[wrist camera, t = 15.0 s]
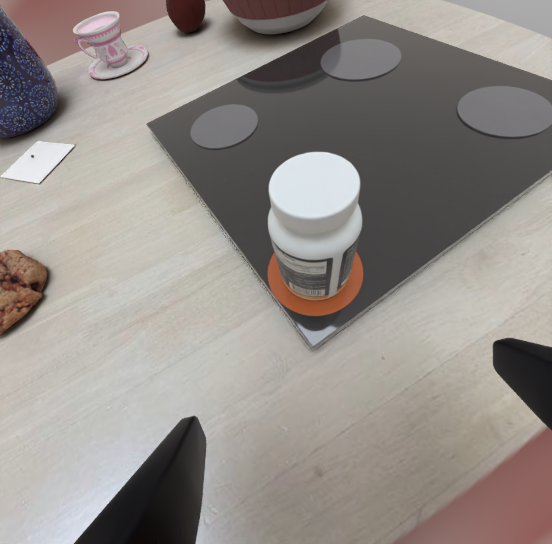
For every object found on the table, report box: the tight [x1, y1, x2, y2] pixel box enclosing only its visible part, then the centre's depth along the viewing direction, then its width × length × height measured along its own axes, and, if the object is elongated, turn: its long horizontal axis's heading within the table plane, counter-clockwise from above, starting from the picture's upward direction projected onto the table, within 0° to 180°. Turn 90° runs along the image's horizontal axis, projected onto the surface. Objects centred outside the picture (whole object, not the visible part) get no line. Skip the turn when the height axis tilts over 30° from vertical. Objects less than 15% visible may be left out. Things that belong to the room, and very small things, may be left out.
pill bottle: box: [268, 152, 362, 300], centre depth 18 cm, size 6×6×10 cm
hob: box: [147, 15, 552, 351], centre depth 32 cm, size 38×40×2 cm
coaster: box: [0, 141, 75, 183], centre depth 38 cm, size 8×8×1 cm
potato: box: [166, 0, 205, 33], centre depth 51 cm, size 7×8×7 cm
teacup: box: [73, 12, 148, 79], centre depth 48 cm, size 12×12×6 cm
